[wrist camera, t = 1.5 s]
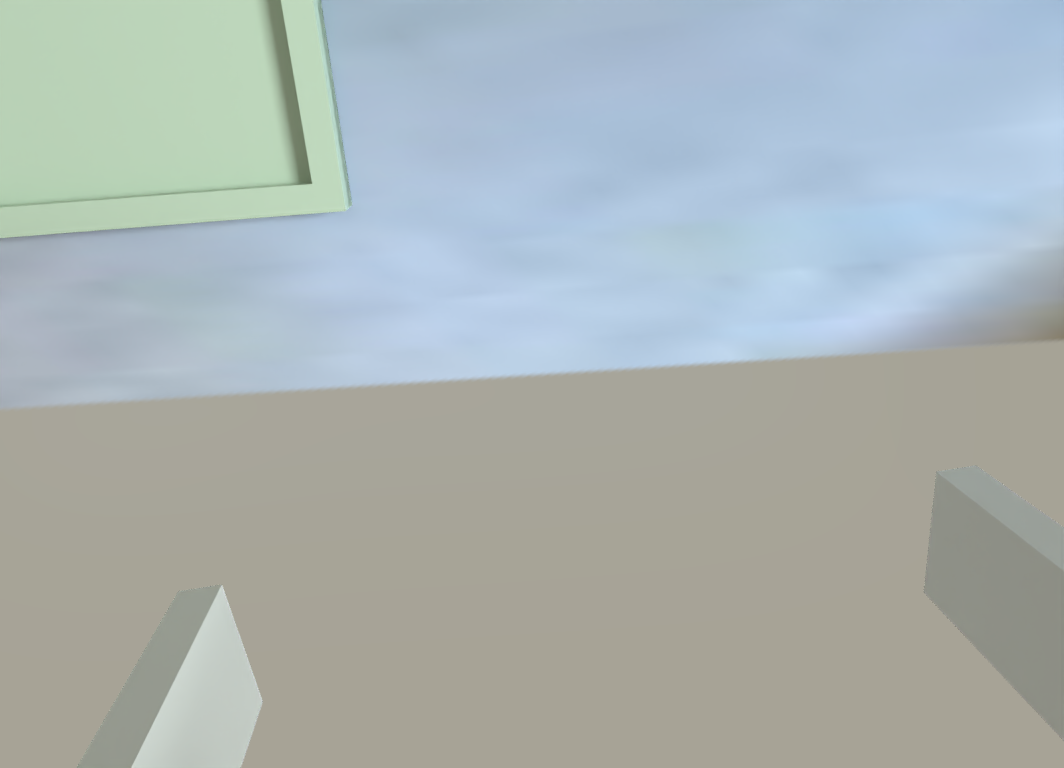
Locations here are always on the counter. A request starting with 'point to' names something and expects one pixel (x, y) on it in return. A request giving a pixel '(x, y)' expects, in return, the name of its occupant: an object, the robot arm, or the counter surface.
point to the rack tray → (165, 114)
